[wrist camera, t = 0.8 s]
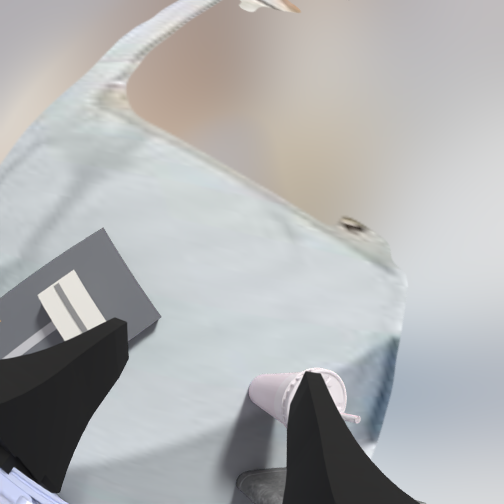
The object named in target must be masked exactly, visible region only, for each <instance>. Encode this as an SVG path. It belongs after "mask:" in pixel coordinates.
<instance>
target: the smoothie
mask: <svg viewBox="0 0 504 504" xmlns="http://www.w3.org/2000/svg"><path fill="white" fill-rule="evenodd" d="M305 371H310V372H315V373H321V375H322V377H323V379H324V381H325V384H326V386H327V388H328V390H329V392H330V395H331V397H332V399H333V401H334V403H335V405H336V407H337V409H338V411H339V413H340V414H341V416H342V418H343V420H345V421H349V422H354V423H359V422H360V420H361V418H360V416H356V415H351V414H346V413H344V411H345V407H346V401H347V395H346V389H345V385H344V383H343V381H342V379H341V378H340V377H339V376H338V375H337V374H336V373H335V372H333V371H331V370H327V369H323V368H310V369H307V370H304V371H303V372H296V373H277V374H261V375H259V376H257V377H255V378H254V379H253V380H252V382H251V384H250V386H249V397H250V399H251V400H252V402H253V403H255V404H256V405H257V406H259V407H260V408H261V409H263V410H264V411H266V412H267V413H268V414H270V415H271V416H273V417H274V418H276V419H277V420H278V421H280V422H281V423H283V424H284V426H285V427H286V428H287V423H288V416H289V409H290V403H291V401H292V399H293V397H294V395H295V393H296V391H297V388H298V386H299V384H300V382H301V380H302V378H303V375H304V373H305Z"/></svg>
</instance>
